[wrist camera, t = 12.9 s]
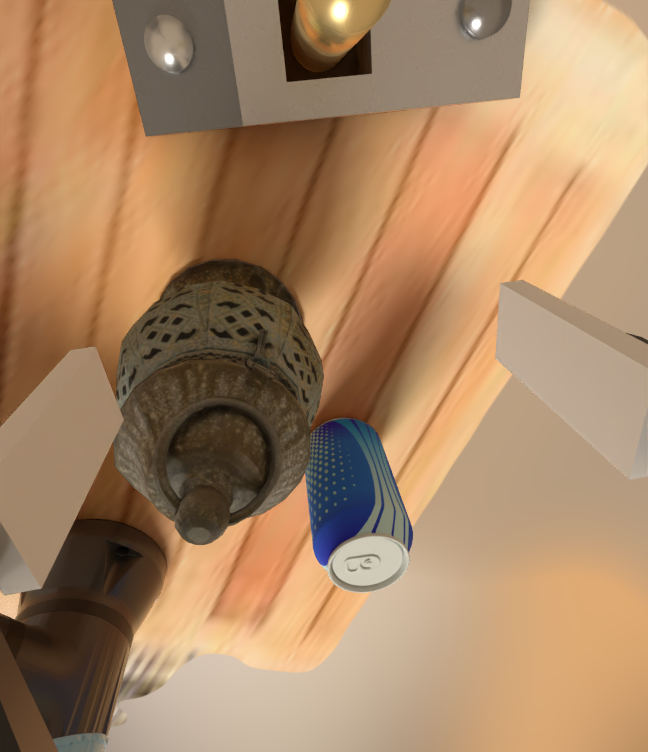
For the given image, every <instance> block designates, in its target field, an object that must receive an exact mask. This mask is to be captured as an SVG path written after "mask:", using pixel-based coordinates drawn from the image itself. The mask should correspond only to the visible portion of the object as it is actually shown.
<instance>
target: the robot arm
mask: <svg viewBox="0 0 648 752" xmlns="http://www.w3.org/2000/svg"><path fill="white" fill-rule="evenodd" d="M495 359H497V360H498V361H499V362H500V363H501V364H502V365H503V366H504V367H505V368H507V369H508V370H509V371H510V372H511V373H512V374H513V375H514V376H515V377H516V378H518V379H519V380H520V381H521V382H522V383H523V384H524V385H525V386H526V387H527V388H529V389H530V390H531V391H532V392H533V393H534V394H535V395H536V396H537V397H539V398H540V399H541V400H542V401H543V402H544V403H545V404H546V405H547V406H548V407H550V408H551V409H552V410H553V411H554V412H555V413H556V414H557V415H558V416H560V417H561V418H562V419H563V420H564V421H565V422H566V423H567V424H568V425H569V426H570V427H572V428H573V429H574V430H575V431H576V432H577V433H578V434H579V435H580V436H582V437H583V438H584V439H585V440H586V441H587V442H588V443H589V444H591V446H593V447H594V448H595V449H596V450H597V451H598V452H599V453H600V454H601V455H602V456H604V457H605V458H606V459H607V460H608V461H609V462H610V463H611V464H612V465H613V466H615V467H616V468H617V469H618V470H619V471H620V472H621V473H623V475H625V476H626V477H627V478H628V479H629V480H631V479H636V478H641V477H647V476H648V340H646V339H644V338H642V337H639V336H635V335H632V334H628V333H625V332H623V331H621V330H619V329H617V328H615V327H613V326H611V325H609V324H607V323H605V322H603V321H601V320H600V319H598V318H596V317H594V316H592V315H590V314H588V313H586V312H584V311H582V310H580V309H578V308H576V307H574V306H572V305H570V304H569V303H566V302H565V301H563V300H561V299H559V298H557V297H555V296H553V295H551V294H549V293H547V292H545V291H543V290H541V289H539V288H537V287H536V286H534V285H532V284H530V283H528V282H526V281H524V280H519V281H512V282H506V283H500V296H499V311H498V326H497V341H496V356H495ZM123 420H124V419H123V416H122V414H121V411H120V409H119V406H118V404H117V401H116V398H115V396H114V393H113V391H112V388H111V385H110V383H109V380H108V378H107V375H106V372H105V370H104V367H103V365H102V362H101V359H100V357H99V354H98V352H97V349H96V346H94V347H87V348H81V349H74V350H70V351H69V352H68V353H67V354H66V355H65V357H64V358H63V359H62V360H61V361H60V362H59V363H58V364H57V365H56V366H55V368H54V369H53V370H52V371H51V372H50V373H49V374H48V375H47V376H46V377H45V379H44V380H43V381H42V382H41V383H40V384H39V385H38V386H37V387H36V388H35V389H34V391H33V392H32V393H31V394H30V395H29V396H28V397H27V398H26V399H25V400H24V402H23V403H22V404H21V405H20V406H19V407H18V408H17V409H16V410H15V411H14V413H13V414H12V415H11V416H10V417H9V418H8V419H7V420H6V421H5V422H4V423H3V425H2V426H1V427H0V590H1V592H2V593H3V594H4V595H9V594H15V593H20V599H19V606H18V613H17V616H16V618H15V620H14V619H12V618H10V617H8V616H5V615H3V614H1V613H0V752H103V751H104V749H105V747H106V746H107V743H108V737H107V736H108V732H109V729H110V725H111V721H112V717H113V713H114V709H115V706H116V702H117V698H118V694H119V690H120V687H121V683H122V679H123V675H124V671H125V667H126V664H127V660H128V656H129V651H130V648H131V644H132V641H133V637H134V635H135V633H136V631H137V630H138V628H139V627H140V625H141V624H142V622H143V621H144V619H145V617H146V616H147V614H148V613H149V611H150V609H151V608H152V606H153V604H154V603H155V602H156V600H157V599H158V597H159V595H160V593H161V590H162V587H163V583H164V579H165V575H166V560H165V557H164V555H163V553H162V551H161V549H160V548H159V547H158V545H157V544H156V543H155V542H154V541H153V540H152V539H151V538H149V537H148V536H147V535H145V534H144V533H142V532H140V531H138V530H136V529H134V528H132V527H130V526H127V525H124V524H121V523H117V522H112V521H105V520H80V521H75V519H76V517H77V515H78V513H79V511H80V509H81V506H82V504H83V502H84V500H85V498H86V496H87V494H88V492H89V490H90V488H91V486H92V484H93V482H94V480H95V478H96V476H97V474H98V472H99V470H100V468H101V465H102V463H103V461H104V459H105V457H106V455H107V453H108V451H109V449H110V447H111V445H112V443H113V441H114V439H115V437H116V435H117V433H118V431H119V429H120V427H121V425H122V422H123Z"/></svg>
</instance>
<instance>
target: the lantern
mask: <svg viewBox="0 0 648 752" xmlns="http://www.w3.org/2000/svg"><path fill="white" fill-rule="evenodd" d="M323 379H324V374H323V367H322V360H321V358H320V356H319V353H318V351H317V349H316V347H315V345H314V342H313V340H312V338H311V336H310V334H309V332H308V330H307V329H306V327H305V326H304V324H303V322H302V317H301V315H300V312H299V309H298V306H297V303H296V300H295V298H294V297H293V295H292V294H291V293H290V292H289V290H288V289H287V288H286V286H285V285H284V284H283V283H282V281H281V280H280V279H278V278H277V277H275V276H274V275H272V274H271V273H269V272H268V271H266V270H265V269H263V268H262V267H259V266H255V265H252V264H249V263H246V262H244V261H241V260H238V259H212V260H209V261H206V262H203V263H200V264H197V265H194V266H191V267H189V268H188V269H186V270H185V271H184V272H183V273H181V274H180V275H179V276H177V277H176V278H175V279H174V280H172V281H171V282H170V284H169V285H168V287H167V289H166V290H165V292H164V294H163V295H162V297H161V298H160V300H158V301H157V302H155V303H154V304H153V305H152V306H151V307H150V308H149V309H148V310H147V311H146V312H145V313H144V314H143V315H142V316H141V318H140V319H139V320H138V321H137V322H136V323H135V324H134V325H133V326H132V327H131V329H130V330H129V332H128V333H127V335H126V336H125V338H124V339H123V341H122V344H121V350H120V356H119V362H118V369H117V389H116V395H117V404H118V406H119V409H120V411H121V414H122V416H123V419H124V420H123V422H122V425H121V427H120V429H119V431H118V433H117V435H116V437H115V439H114V441H113V443H114V461H115V468H116V469H117V470H118V471H119V472H120V473H121V474H122V475H123V476H124V478H125V479H126V480H127V481H128V482H129V483H130V484H131V485H132V486H133V487H134V488H135V489H136V490H137V491H138V492H140V493H141V494H142V495H143V496H145V497H146V498H147V499H148V500H149V501H151V502H152V503H153V504H154V505H155V507H156V508H157V509H158V510H159V511H160V512H161V513H162V514H164V515H165V516H166V517H168V518H169V519H170V520H172V521H175V528H176V529H177V531H178V533H179V534H180V535H181V537H182V538H183V539H184V540H186V541H187V542H189V543H192V544H195V545H205V544H209V543H212V542H213V541H215V540H216V539H218V538H219V537H220V536H221V535H223V533H224V532H225V530H226V529H227V527H228V526H232V525H235V524H237V523H239V522H240V521H242V520H244V519H245V518H249V517H253V516H256V515H260V514H263V513H265V512H266V511H268V510H270V509H271V508H273V507H274V506H276V505H277V504H279V503H280V502H282V501H283V500H285V499H286V498H287V497H288V495H289V494H290V493H291V492H292V491H293V490H294V489H295V488H296V486H297V485H298V484H299V483H300V482H301V480H302V478H303V475H304V473H305V471H306V468H307V466H308V463H309V461H310V441H311V429H310V427H311V425H312V422H313V420H314V418H315V415H316V413H317V410H318V408H319V404H320V398H321V391H322V385H323Z"/></svg>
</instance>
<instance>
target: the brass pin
mask: <svg viewBox="0 0 648 752" xmlns="http://www.w3.org/2000/svg"><path fill="white" fill-rule="evenodd" d="M390 2H391V0H297V1H296V6H295V11H294V16H293V22H292V27H291V32H290V42H291V47H292V51H293V53H294V55H295V57H296V59H297V60H298V62H299V63H300V64H301V65H302V66H303V67H305V68H306V69H308V70H310V71H313V72H324V71H327V70H329V69H331V68H333V67H334V66H335V65H336V64H337V63H338V62H339V61H340V60H341V59H342V58H343V57H344V56H345V55H346V54H347V53H348V52H349V51H350V50H351V48H352V47H353V46H354V45H355V44H356V43H357V42H358V41H359V40H360V39H361V38H362V37H363V36H364V35H365V34H366V33H367V32H368V31H369V30H370V29H371V28H372V27H373V26H374V25H375V24H376V22H377V21H378V20H379V19H380V18H381V17H382V16H383V14H384V13H385V12H386V10H387V8H388V6H389V4H390Z"/></svg>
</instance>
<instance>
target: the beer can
mask: <svg viewBox="0 0 648 752" xmlns="http://www.w3.org/2000/svg"><path fill="white" fill-rule="evenodd" d="M305 475H306V485H307V494H308V503H309V513H310V522H311V531H312V541H313V549H314V553H315V556H316V558H317V560H318V562H319V563H320V564H321V565H322V567H323V568H325V569H326V570H327V571H328V575H329V577H330V579H331V580H332V582H333V583H334V584H335V585H336V586H338V587H339V588H341V589H344V590H346V591H350V592H355V593H368V592H374V591H378V590H381V589H384V588H386V587H388V586H390V585H392V584H394V583H395V582H396V581H397V580H399V579H400V578H401V577H402V576H403V575H404V573H405V572H406V570H407V568H408V565H409V560H410V556H409V551H410V548H411V545H412V540H413V531H412V526H411V523H410V520H409V518H408V515H407V512H406V509H405V507H404V504H403V501H402V498H401V496H400V493H399V490H398V487H397V485H396V482H395V479H394V476H393V474H392V471H391V468H390V465H389V462H388V460H387V457H386V454H385V451H384V449H383V446H382V443H381V440H380V438H379V436H378V434H377V432H376V431H375V430H374V429H373V428H372V427H371V426H370V425H369V424H367V423H365V422H363V421H361V420H357V419H352V418H335V419H331V420H329V421H327V422H325V423H323V424H321V425H320V426H319V427H317V428H316V429H315V430H314V431H313V432H312V433H311V441H310V461H309V463H308V466H307V468H306V471H305Z"/></svg>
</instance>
